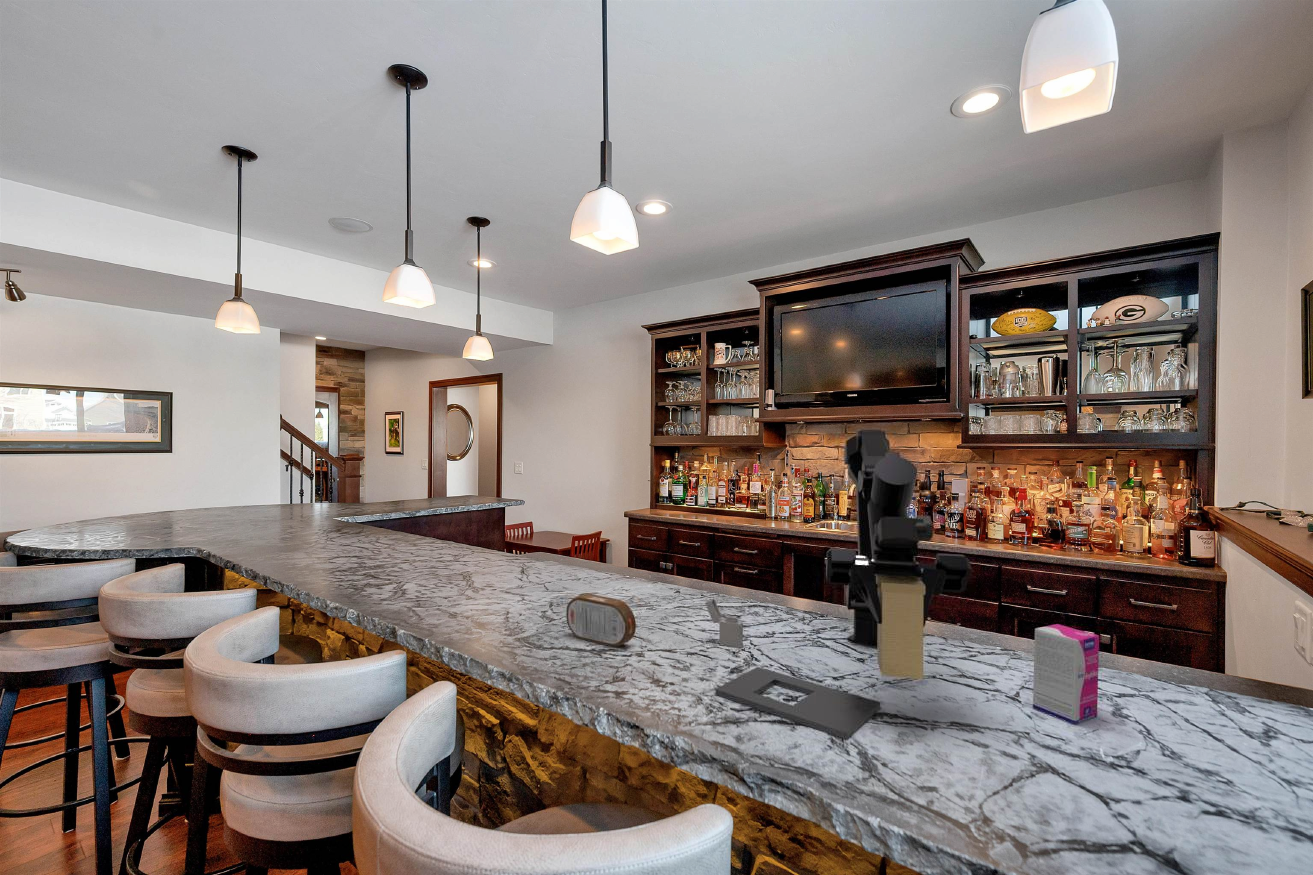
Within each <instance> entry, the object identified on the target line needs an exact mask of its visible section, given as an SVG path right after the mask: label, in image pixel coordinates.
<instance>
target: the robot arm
mask: <svg viewBox="0 0 1313 875" xmlns="http://www.w3.org/2000/svg"><path fill="white" fill-rule="evenodd" d="M843 462H844V465H845V466H847V476H848V477H849V479H850V480H851V481H852V482H853V484H854V485H855V491H856V492H855V495H856V496H855V497H856V522H857V523H856V526H857V531H856V532H857V551H856V549H854V548H839V547H838V548H837V547H831V548H829V549H828V551H827V552H826V560H825V562H826V564H825V580H826V583H827V584H829V585H837V586H846V588H845V606H846V608H847V610H848V611H851V610H853V633H852V634H850V635H849V636H847V637H846V641H848V642H852V643H855V644H856V643H857V644H860V645H865V646H869V647H874V648H877V633H878V624H881V607H880V602H879V597H878V585H877V584H876V574H882V575H899V576H915V577H918V578H919V579H920V580H921V581H922V582H923V583H924V584H925V595H923V628H925V627H926V624H927V623H926V622H927V618H928V613H929V607H930V603H931V601H932V599H933V597H935V596H936V597H937V596H940V595H941V594H942V592H946V593H957V594H958V593H962V592H964V591H965V590H966V588H967V585H968V582H969V580H970V577H971V574H972V572H973V570H972V566H971V561H970V559H969V558H968V557H966V556H965V555H964V554H955V553H954V554H953V553H952V554H951V553H936V555H935V560H934V563H926V562H918V561H916V557H918V556H919V551H920V550H919V546H918V544H919V543H920V542H931V541H932V538H933V537H934V530H933V529H934V527H933V526H934V525H933V521H932V517H931V515H916V517H915V518H914V517H909V512H908V507H910V505H911V503H912V501H913V500H912V499H913V496H914V491H915V487H918V478H917V477H918V469H917V467H916V466H915V465H914V463H912V462H911V461H910V460H908V459H906V458H904V457H901V453H900V452H893V451H892V452H891V446H890V440H889V439H888V438H886V431H885V430H882V429H880V428H879V429H878V428H877V429H876V428H875V429H868V428H867V429H866V428H865V429H863V428H862V429H860V430H857V431H856V434H855V435H854V436H851V437H850V438H849V439H847V440H845V443H844V450H843ZM857 552H858V553H857Z"/></svg>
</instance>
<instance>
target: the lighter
mask: <svg viewBox="0 0 1313 875" xmlns="http://www.w3.org/2000/svg"><path fill="white" fill-rule="evenodd" d="M704 604H705V606H706V609H707V612H708V614H709V617H710V618H711V621H712V623H713V624H715V623H718V622H719V627H718V628H719V637H718V638H719V639H718V641H719V645H720V646H721V645H722V646H727V647H732V648H737V649H741V648H742V647H744V646H743V645H744V640H743V639H744V622H743V621H739V618H737V616H736V615H725V619H724V618H723V617H722V614H721V611H720V609H719V607H718V604H717V602H716V599H715V598H710V599H708V600H705V602H704Z"/></svg>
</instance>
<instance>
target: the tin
mask: <svg viewBox="0 0 1313 875" xmlns="http://www.w3.org/2000/svg"><path fill="white" fill-rule="evenodd" d="M565 614H566V616H565V617H566V622H567V627H568V628H569V630H570V631H571V633H572V634H573V635H574V637H577V638H578V639H581V640H584V641H588V642H592V643H595V644H600V645H604V646H608V647H613V648H614V647H615V648H616V647H620V646H622V645H624V644H627V643H628V642H630V641H631V640H632V639H633V638H634V636H635V633H636V630H637V622H636V617H635V615H634V611H633V610H632V608H631V607H630V606H629V605H628V604H627V603H626V602H625V601H623V600H621V599H618V598H614V597H607V596H603V595H599V594H593V593H588V592H585V593H581V594H579V595H578V596H575V597H574V598H572V599H571V600H570V601H569V602H568V604H567V606H566V612H565Z"/></svg>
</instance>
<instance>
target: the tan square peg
mask: <svg viewBox="0 0 1313 875" xmlns="http://www.w3.org/2000/svg"><path fill="white" fill-rule="evenodd" d="M876 584H877V585H878V597H879V602H880V607H881V624H878V633H877V647H876V648H877V651H876V652H877V655H876V656H877V657H876V658H877V659H876V660H877V661H876V662H877V665H878V667H879V671H880V674H881V676H883V677H894V678H904V679H911V680H912V679H913V680H924V627H923V595H925V584H924V583H923V582H922V581H921V580H920V579H919V578H918V577H915V576H899V575H882V574H876Z"/></svg>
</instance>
